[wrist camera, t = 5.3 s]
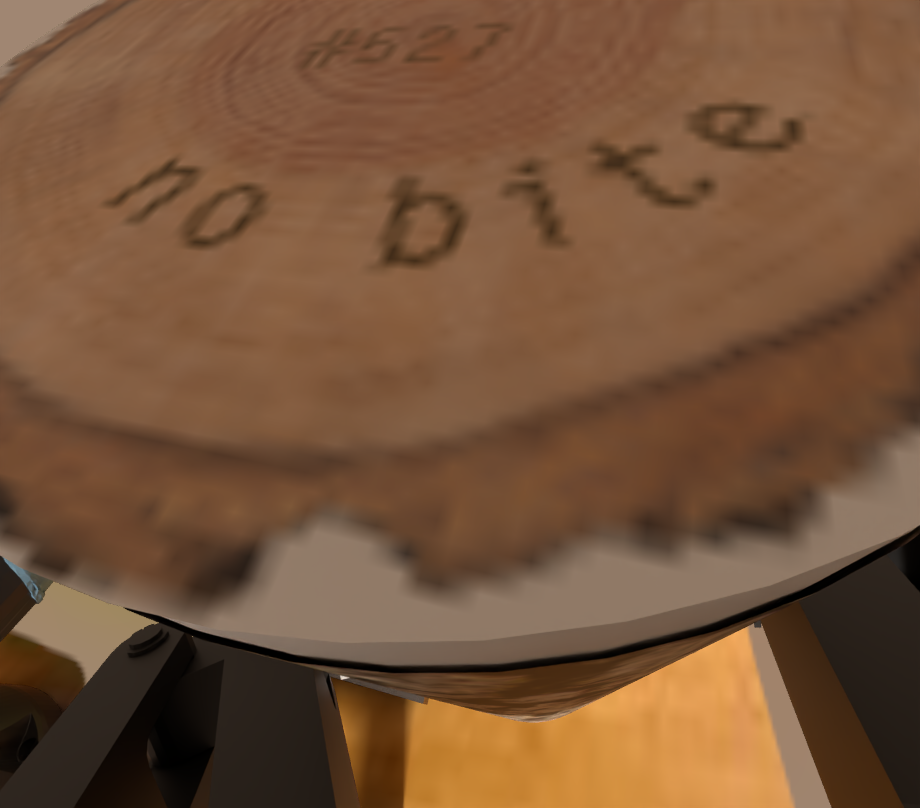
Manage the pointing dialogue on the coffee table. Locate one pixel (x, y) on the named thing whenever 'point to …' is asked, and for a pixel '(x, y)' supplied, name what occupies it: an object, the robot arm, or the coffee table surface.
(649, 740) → the coffee table surface
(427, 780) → the coffee table surface
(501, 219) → the paper tube
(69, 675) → the coffee table surface
